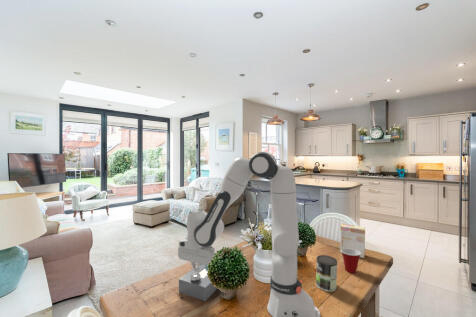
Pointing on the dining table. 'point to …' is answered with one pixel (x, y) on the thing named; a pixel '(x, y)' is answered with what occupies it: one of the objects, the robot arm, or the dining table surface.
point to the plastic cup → (350, 259)
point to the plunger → (195, 277)
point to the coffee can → (326, 273)
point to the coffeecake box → (353, 238)
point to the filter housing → (196, 286)
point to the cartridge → (204, 272)
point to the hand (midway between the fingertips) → (196, 270)
